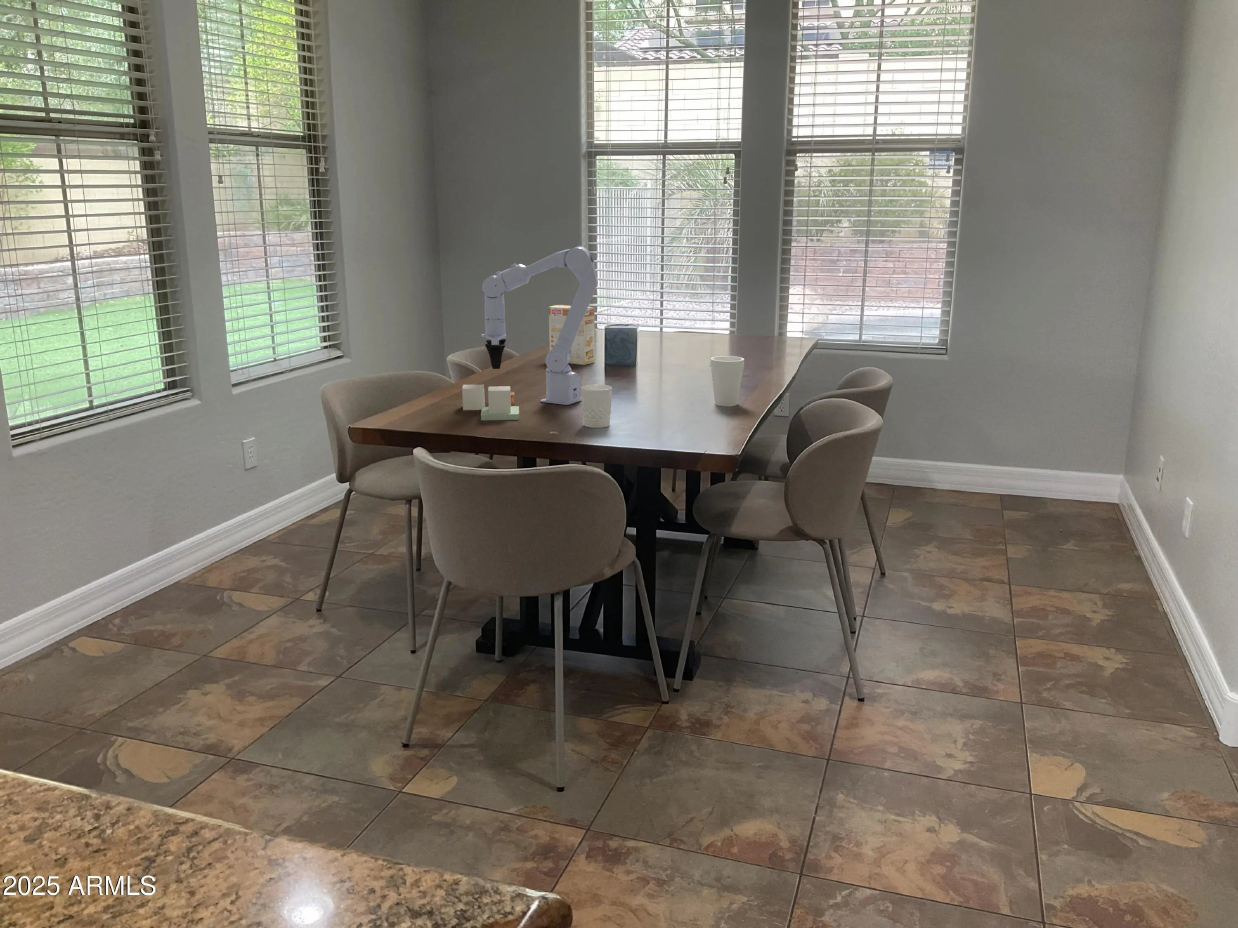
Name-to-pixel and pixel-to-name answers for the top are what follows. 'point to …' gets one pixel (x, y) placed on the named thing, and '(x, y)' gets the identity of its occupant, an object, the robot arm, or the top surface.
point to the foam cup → (726, 379)
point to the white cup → (596, 405)
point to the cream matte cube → (499, 399)
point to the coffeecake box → (584, 339)
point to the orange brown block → (512, 398)
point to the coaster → (500, 414)
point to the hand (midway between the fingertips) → (496, 366)
